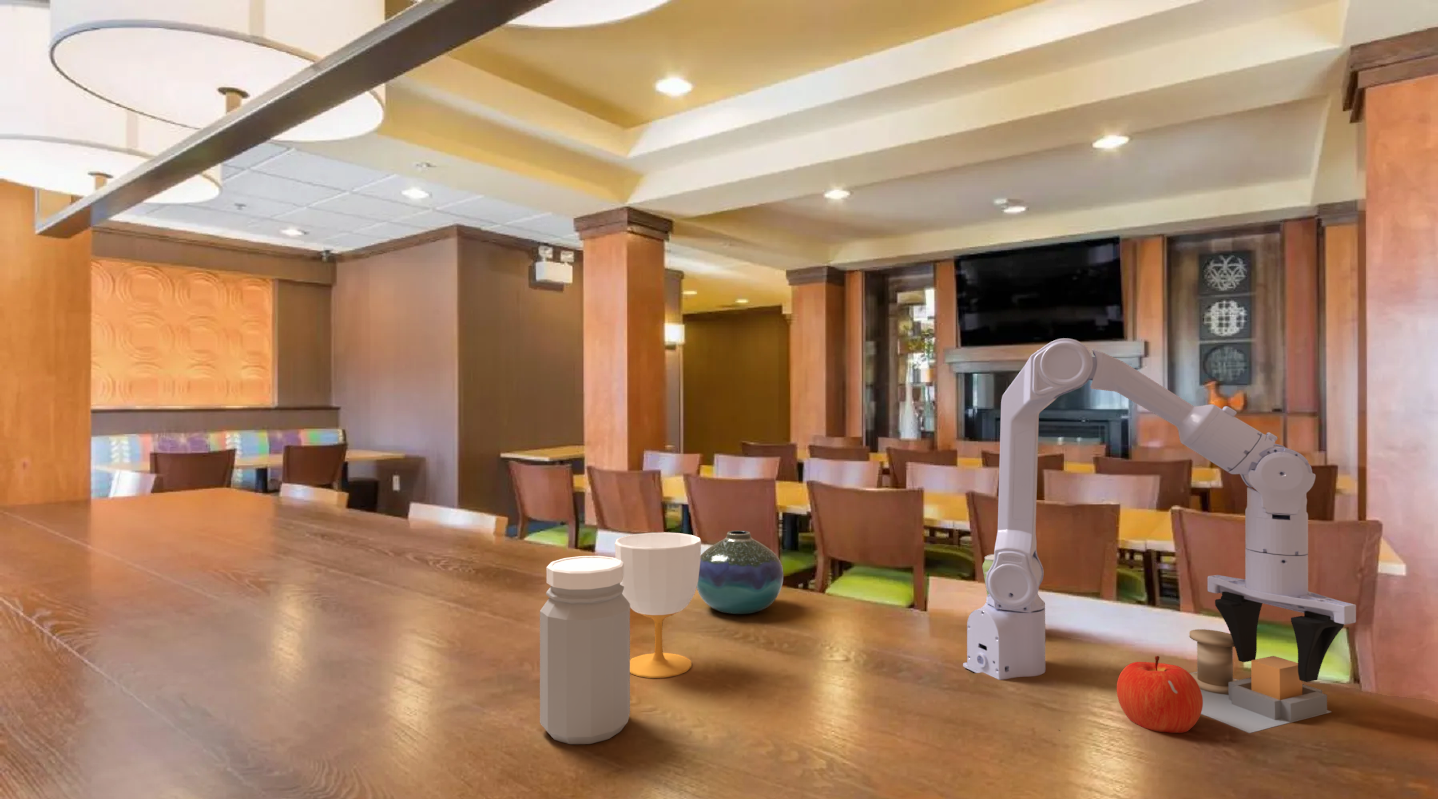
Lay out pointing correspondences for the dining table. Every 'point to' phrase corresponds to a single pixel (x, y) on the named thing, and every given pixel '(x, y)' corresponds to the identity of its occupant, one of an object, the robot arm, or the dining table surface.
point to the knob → (1213, 660)
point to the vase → (739, 575)
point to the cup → (659, 589)
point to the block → (1275, 677)
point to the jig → (1261, 707)
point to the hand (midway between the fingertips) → (1276, 669)
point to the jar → (585, 650)
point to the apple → (1159, 696)
